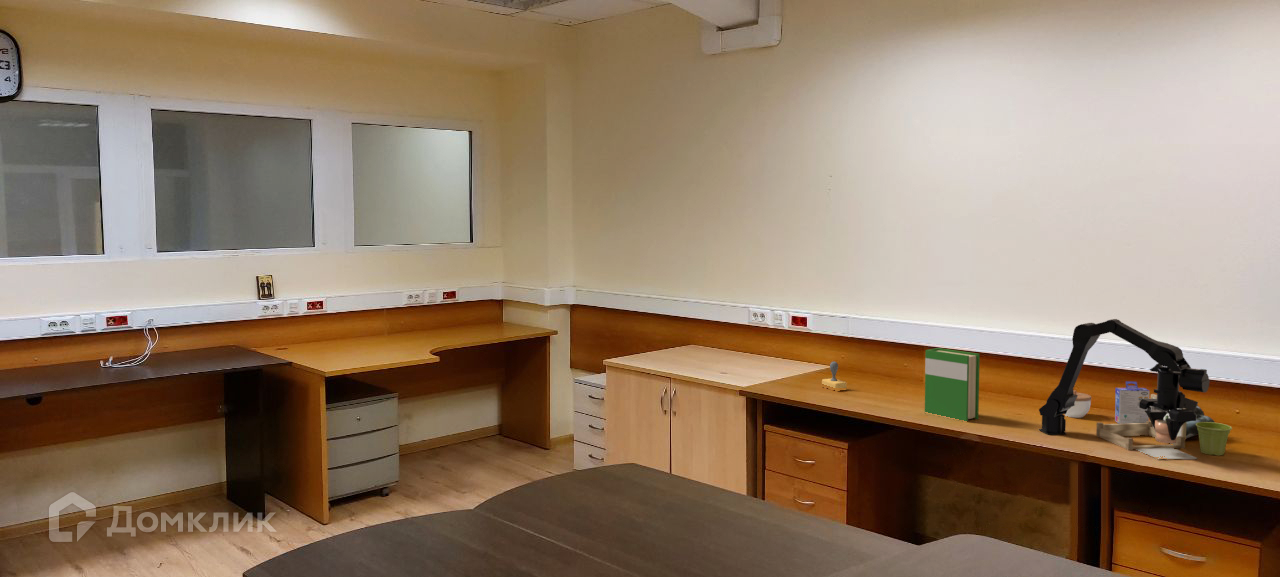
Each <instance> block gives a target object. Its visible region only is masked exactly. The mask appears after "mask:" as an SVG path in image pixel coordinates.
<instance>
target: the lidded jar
mask: <svg viewBox="0 0 1280 577" xmlns="http://www.w3.org/2000/svg"><path fill="white" fill-rule="evenodd" d="M1073 391H1074V394H1075V395H1078V396H1077V398H1076V400H1075V403H1074V406H1072V407H1071V408H1070V409H1068V410H1067V413H1066V414H1064V415H1065V417H1067V416H1068V418H1074V419H1075V418H1076V419H1081V418H1084V416H1086V415H1087V414H1088V412H1089V411H1090V408H1091V405H1092V403H1091V402H1092V396H1091V395H1090V394H1087V393H1083V392H1077V390H1074V389H1073Z"/></svg>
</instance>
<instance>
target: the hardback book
mask: <svg viewBox="0 0 1280 577" xmlns="http://www.w3.org/2000/svg"><path fill="white" fill-rule="evenodd" d="M980 357H981V356H980V353H975V352H968V351H961V350H957V349H956V350H955V349H954V350H953V349H947V348H940V347H937V348H930V349H925V359H924V360H925V364H924V366H925V368H924V369H925V370H924V371H925V372H924V376H925V377H924V413H925V412H928V413H932V414H937V415H941V416H946V417H950V418H955V419H959V420H964V421H968V422H969V420H970V419H973V418H976V419H975V420H979V409H980V407H979V406H980V405H979V403H980V399H979V398H980V361H981V360H980ZM959 420H958V421H959Z"/></svg>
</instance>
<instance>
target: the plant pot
mask: <svg viewBox="0 0 1280 577" xmlns="http://www.w3.org/2000/svg"><path fill="white" fill-rule="evenodd" d="M1214 422H1215V421H1214ZM1214 422H1198V423H1196V426H1197V430H1198V432H1199V434H1198V440H1199V441H1198V442H1199V448H1200V449H1199V450H1200V452H1201V453H1202V454H1205V455H1209V456H1212V455H1215V456H1224V455H1225V452H1226V446H1227V442H1228V438H1229V435H1230V432H1231V430H1233V428H1232V426H1231V425H1228V424H1224V423H1222V422H1221V423H1220V422H1215V423H1214Z"/></svg>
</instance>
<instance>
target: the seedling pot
mask: <svg viewBox="0 0 1280 577" xmlns="http://www.w3.org/2000/svg"><path fill="white" fill-rule="evenodd" d="M1166 418H1169V416H1168V415H1166V417H1165V420H1155V431H1156V438H1155V441H1156V442H1158V443H1163V444H1168V443H1170V444H1169V445H1171V444H1172V443H1176V439H1175V440H1171V439H1170V435H1169V431H1168V427H1167V423H1166Z"/></svg>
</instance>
